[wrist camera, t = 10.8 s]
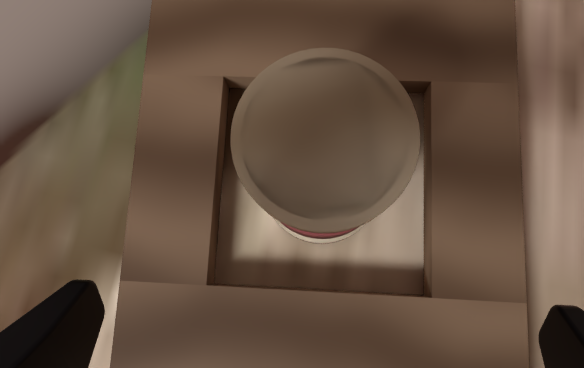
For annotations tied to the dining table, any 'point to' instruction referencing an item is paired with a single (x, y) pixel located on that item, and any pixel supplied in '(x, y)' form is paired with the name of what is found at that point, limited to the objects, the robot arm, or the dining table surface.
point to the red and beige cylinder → (325, 142)
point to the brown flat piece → (437, 192)
